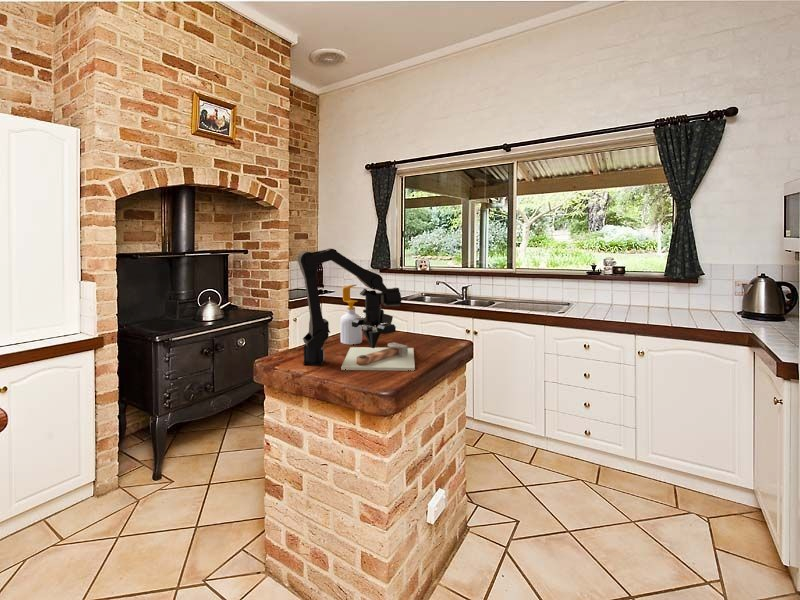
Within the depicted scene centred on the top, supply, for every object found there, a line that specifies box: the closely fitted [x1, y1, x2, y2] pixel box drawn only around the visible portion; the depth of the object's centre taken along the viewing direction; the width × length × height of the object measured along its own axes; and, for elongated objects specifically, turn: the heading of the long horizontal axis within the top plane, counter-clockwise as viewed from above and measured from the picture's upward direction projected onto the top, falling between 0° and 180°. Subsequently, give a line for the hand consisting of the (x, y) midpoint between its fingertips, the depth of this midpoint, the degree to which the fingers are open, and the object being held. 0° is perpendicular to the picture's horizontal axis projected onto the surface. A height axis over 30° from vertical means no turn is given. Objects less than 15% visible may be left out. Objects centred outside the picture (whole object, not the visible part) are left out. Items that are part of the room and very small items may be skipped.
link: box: [357, 347, 399, 365], centre depth 163 cm, size 22×4×2 cm, turn 139°
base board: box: [340, 346, 416, 372], centre depth 166 cm, size 25×26×1 cm
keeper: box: [387, 341, 409, 357], centre depth 168 cm, size 3×8×5 cm, turn 44°
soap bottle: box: [339, 284, 363, 346], centre depth 189 cm, size 9×9×25 cm
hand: (373, 348), depth 169 cm, fingers closed
